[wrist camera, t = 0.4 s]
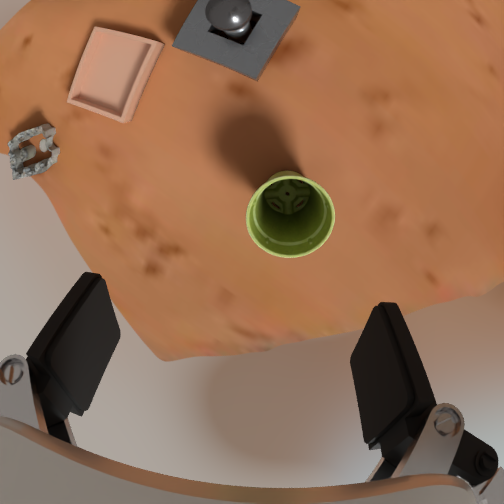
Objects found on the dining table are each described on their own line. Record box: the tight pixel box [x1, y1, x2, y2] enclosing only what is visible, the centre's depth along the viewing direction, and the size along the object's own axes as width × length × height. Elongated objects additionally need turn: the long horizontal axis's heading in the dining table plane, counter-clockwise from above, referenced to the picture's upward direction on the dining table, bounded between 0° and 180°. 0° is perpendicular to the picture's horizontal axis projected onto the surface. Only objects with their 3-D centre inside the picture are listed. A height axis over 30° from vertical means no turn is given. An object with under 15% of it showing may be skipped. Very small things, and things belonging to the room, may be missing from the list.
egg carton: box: [8, 124, 60, 180], centre depth 33 cm, size 11×8×4 cm
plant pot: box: [246, 171, 335, 258], centre depth 33 cm, size 9×9×9 cm
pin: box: [205, 0, 252, 43], centre depth 22 cm, size 4×4×10 cm
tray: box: [67, 27, 165, 123], centre depth 28 cm, size 11×10×2 cm
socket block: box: [172, 0, 300, 82], centre depth 24 cm, size 10×10×5 cm
